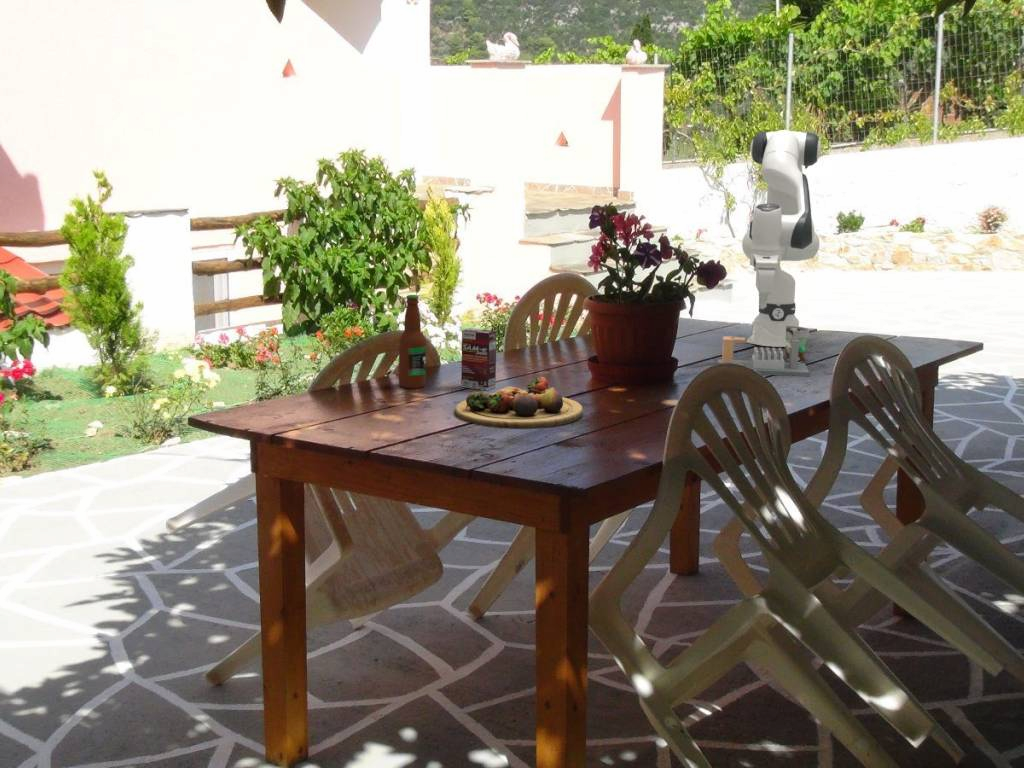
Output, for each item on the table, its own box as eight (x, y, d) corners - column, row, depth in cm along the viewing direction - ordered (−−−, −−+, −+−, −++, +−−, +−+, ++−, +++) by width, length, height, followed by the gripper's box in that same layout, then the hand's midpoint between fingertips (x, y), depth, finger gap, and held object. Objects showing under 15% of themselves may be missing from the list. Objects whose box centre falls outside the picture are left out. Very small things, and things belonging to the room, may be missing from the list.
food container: (811, 364, 395) (813, 332, 393) (791, 363, 395) (793, 331, 393) (803, 357, 407) (805, 326, 405) (784, 356, 407) (786, 325, 405)
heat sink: (717, 363, 393) (719, 332, 392) (804, 366, 390) (806, 335, 388) (719, 372, 378) (720, 340, 376) (809, 376, 375) (811, 344, 373)
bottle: (417, 389, 346) (417, 297, 341) (394, 387, 349) (393, 296, 344) (430, 385, 352) (430, 294, 347) (407, 382, 355) (407, 293, 350)
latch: (721, 361, 388) (723, 336, 387) (743, 362, 387) (744, 337, 386) (722, 364, 382) (723, 339, 381) (744, 365, 381) (745, 340, 380)
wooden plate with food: (510, 396, 341) (510, 365, 340) (608, 413, 322) (608, 380, 320) (428, 418, 317) (427, 385, 315) (529, 437, 297) (529, 403, 296)
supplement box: (460, 387, 350) (460, 330, 347) (469, 384, 354) (469, 327, 351) (488, 390, 346) (488, 332, 343) (496, 387, 350) (497, 330, 347)
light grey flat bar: (752, 324, 383) (755, 320, 383) (794, 350, 383) (797, 346, 383) (753, 325, 380) (755, 321, 380) (795, 351, 380) (798, 347, 380)
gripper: (752, 256, 388) (750, 301, 391) (756, 262, 368) (753, 310, 371) (773, 256, 387) (771, 302, 390) (778, 263, 368) (775, 311, 370)
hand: (762, 306), depth 380 cm, fingers open, 4 cm apart
